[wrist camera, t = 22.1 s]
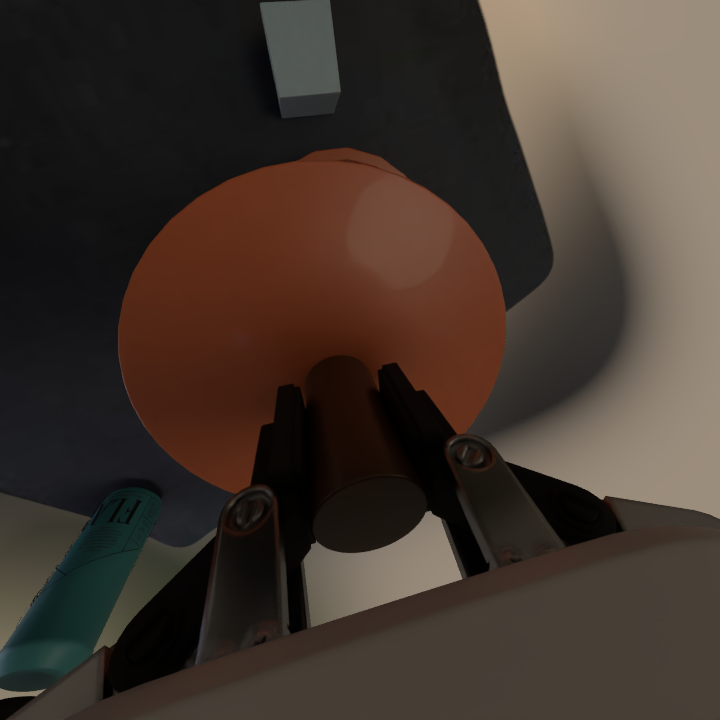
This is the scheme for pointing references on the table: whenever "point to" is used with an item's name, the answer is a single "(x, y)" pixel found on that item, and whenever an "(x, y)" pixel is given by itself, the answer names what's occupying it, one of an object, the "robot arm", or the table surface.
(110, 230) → the table surface
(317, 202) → the lid
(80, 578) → the beverage bottle
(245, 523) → the robot arm
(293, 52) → the grey cube
